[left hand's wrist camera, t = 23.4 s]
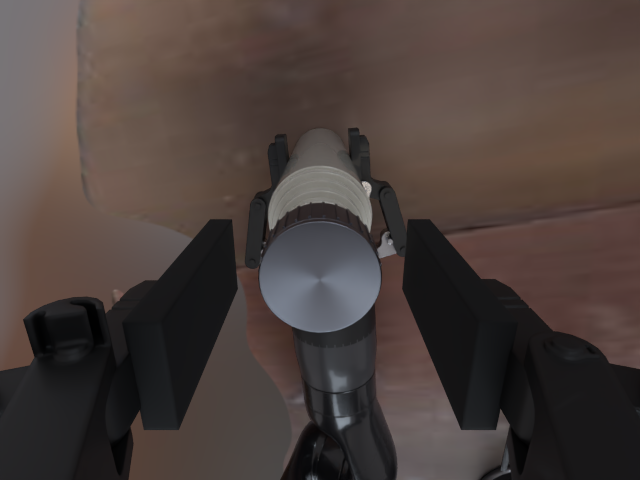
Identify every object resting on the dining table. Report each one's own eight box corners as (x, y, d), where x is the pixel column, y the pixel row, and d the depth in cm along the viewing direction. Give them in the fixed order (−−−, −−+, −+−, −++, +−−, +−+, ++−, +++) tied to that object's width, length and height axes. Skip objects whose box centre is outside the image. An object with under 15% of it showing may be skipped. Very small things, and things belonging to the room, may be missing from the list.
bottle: (336, 187, 38) (364, 347, 14) (287, 171, 37) (231, 311, 14) (353, 137, 36) (416, 223, 12) (302, 120, 36) (267, 178, 12)
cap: (299, 317, 15) (296, 352, 13) (245, 232, 14) (232, 257, 12) (392, 272, 15) (404, 302, 13) (343, 180, 13) (347, 196, 11)
